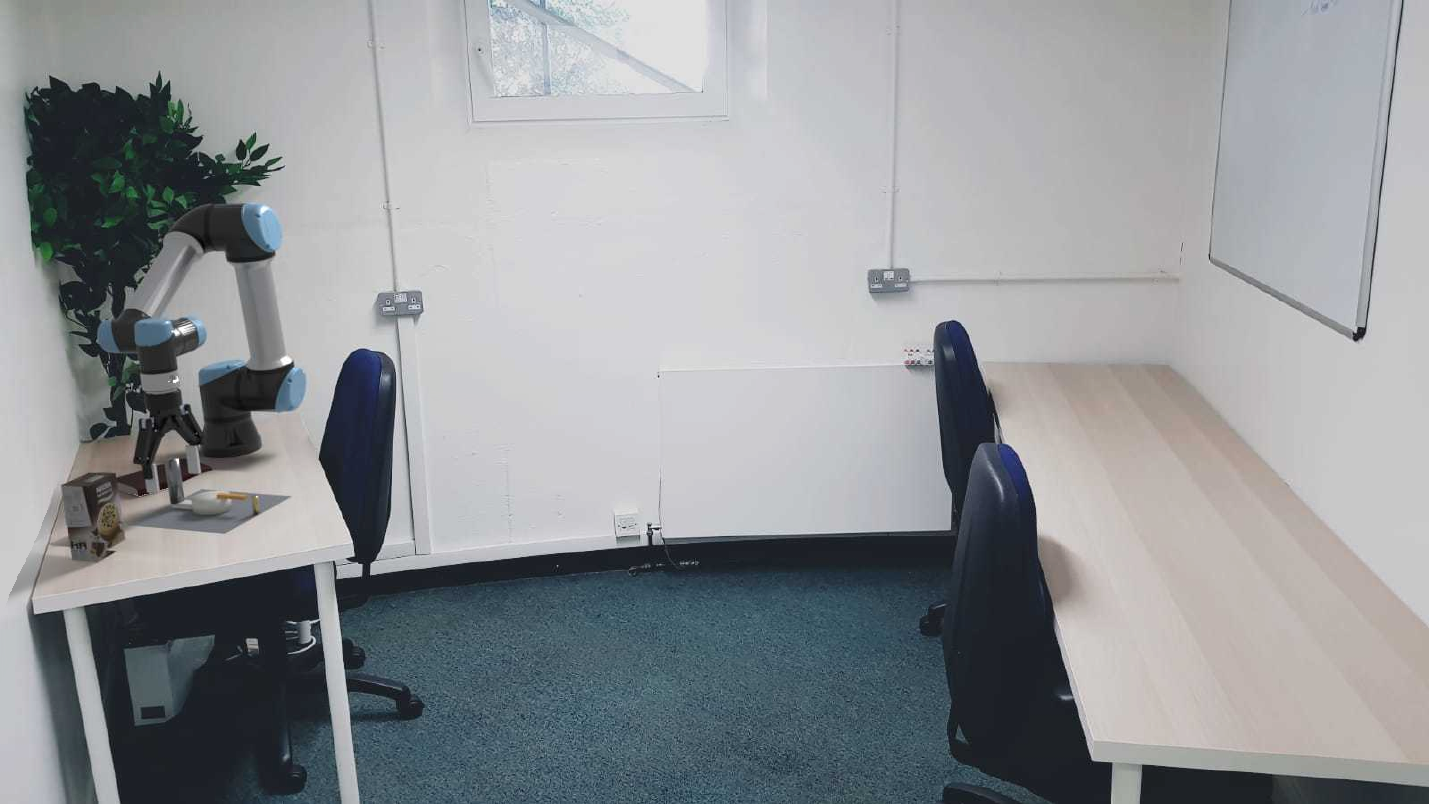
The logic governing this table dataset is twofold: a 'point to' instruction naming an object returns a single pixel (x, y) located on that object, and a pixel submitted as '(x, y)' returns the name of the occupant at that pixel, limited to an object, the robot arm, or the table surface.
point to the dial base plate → (212, 523)
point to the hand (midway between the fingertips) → (174, 482)
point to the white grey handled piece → (201, 502)
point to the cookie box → (93, 515)
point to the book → (137, 484)
